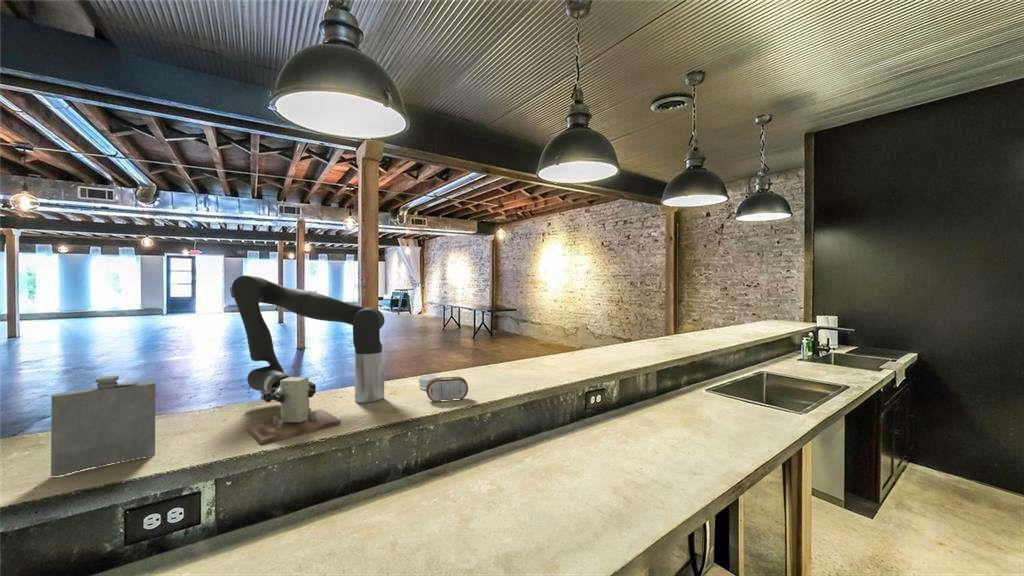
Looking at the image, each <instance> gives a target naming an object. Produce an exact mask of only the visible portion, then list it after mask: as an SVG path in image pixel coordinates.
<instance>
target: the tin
mask: <svg viewBox="0 0 1024 576" xmlns="http://www.w3.org/2000/svg"><path fill="white" fill-rule="evenodd" d="M425 392H426V395H427V397H428V398H429V400H430V401H432V402H434V401H441V400H453V399H461V400H463V399H465V397H466V396H467V395H468V393H469V385H468V382H467V381H466V379H465V378H463V377H462V376H444V377H443V376H442V377H441V376H440V377H439V378H434V379H432V380H431V381H430V382H429V383H428V384H427V387H426V390H425Z"/></svg>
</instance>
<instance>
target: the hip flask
mask: <svg viewBox="0 0 1024 576" xmlns="http://www.w3.org/2000/svg"><path fill="white" fill-rule="evenodd" d="M119 378H120V376H119V375H108V376H102V377H101V376H100V377H97V378H95V383H96V387H95V388H93V387H92V388H87V389H85V388H84V389H79V390H72V391H65V392H59V393H53V394H52V395H51V401H50V403H51V404H50V406H51V408H50V409H51V410H50V411H51V412H50V413H51V416H50V417H51V418H50V419H51V420H50V423H51V426H50V428H51V430H50V436H51V437H50V445H51V446H50V477H51V476H60V475H65V474H68V473H72V472H75V471H80V470H83V469H87V468H92V467H99V466H103V465H107V464H111V463H117V462H122V461H127V460H132V459H137V458H143V457H149V456H152V455H154V454H155V455H156V381H147V382H139V381H137V382H124V383H122V382H121V383H119V382H118V380H119ZM155 455H154V456H155ZM152 457H153V456H152ZM149 458H150V457H149Z"/></svg>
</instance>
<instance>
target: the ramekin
mask: <svg viewBox="0 0 1024 576" xmlns="http://www.w3.org/2000/svg"><path fill="white" fill-rule="evenodd" d="M421 376H422V377H421ZM439 377H441V375H438V374H423V375H420V376H419V377H418V383H419V388H420V387H422V388H426V387H427V384H428V383H429V382H430V381H431V380H432V379H434V378H439Z"/></svg>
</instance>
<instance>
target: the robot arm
mask: <svg viewBox="0 0 1024 576" xmlns="http://www.w3.org/2000/svg"><path fill="white" fill-rule="evenodd" d="M231 292H232V296H233V298H234V301H235V304H236V307H237V309H238V313H239V315H240V317H241V320H242V323H243V327H244V330H245V334H246V339H247V345H248V352H249V356H250V359H251V361H252V362H267V363H268V364H269V365H267V366H263V367H258V368H254V369H252V370H251V371H250V372H249V373H248V375H247V383H248V386H249V387H250V388H251V389H252V390H254V391H259V392H260V400H262V401H264V402H265V403H270V402H272V401H274V402H276V403H280V404H281V403H284V395H283V394H282V393H280V380H283V379H285V378H288V377H292V376H291V375H289V374H287V373H285V372H284V368H282V365H281V364H280V361H279V359H278V358H277V355H276V353H275V348H274V343H273V338H272V334H271V332H270V329H269V327H268V324H267V323H266V321H265V320H264V317H263V314H262V312H261V307H260V303H261V304H267V305H271V306H273V305H274V306H277V307H281V308H283V309H285V310H287V311H289V312H292V313H294V314H296V315H298V316H302V317H305V318H308V319H312V320H318V321H325V322H334V323H343V324H348V325H350V326H352V342H353V343H352V344H353V347H354V402H356V403H360V404H362V403H363V404H368V403H374V402H378V401H380V400H381V399H385V372H384V371H383V344H382V343H381V335H380V334H381V331H380V329H382V327H383V326H385V325H384V324H385V322H386V321H385V316H384V314H383V313H382V312H381V311H380V310H379V309H377V308H374V307H367V306H361V305H356V304H351V303H348V302H345V301H342V300H340V299H338V298H337V299H336V298H333V297H331V296H328V295H324V294H321V293H317V292H314V291H309V290H305V289H299V288H292V287H286V286H284V285H280V284H277V283H276V282H275V283H274V282H272V281H271V280H268V279H265V278H263V277H259V276H254V275H246V274H245V275H244V274H243V275H240V276H238V277H236V278H235V279H234V281H233V282H232V284H231ZM316 389H317V385H316V384H315V383H314V382H312V381H309V398H313V396H314V395H315V394H316V393H317V392H316V391H317V390H316Z"/></svg>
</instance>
